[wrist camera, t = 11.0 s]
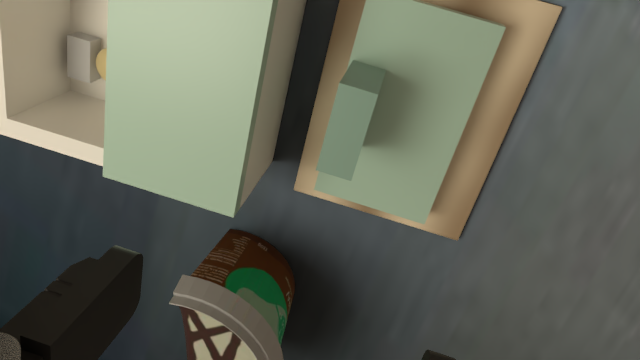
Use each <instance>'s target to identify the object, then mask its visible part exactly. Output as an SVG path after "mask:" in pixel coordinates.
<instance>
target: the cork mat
mask: <svg viewBox="0 0 640 360" xmlns="http://www.w3.org/2000/svg"><path fill="white" fill-rule="evenodd" d="M421 1H424V2H428V3H431V4H435V5H438V6H442V7H445V8H449V9H452V10H456V11H459V12H463V13H466V14H469V15H473V16H476V17H480V18H483V19H487V20H490V21H494V22H497V23H501V24H504V25H505V27H506V29H505V31H504V33H503V36H502V38H501V41H500V43H499V46H498V48H497V50H496V53H495V55H494V58H493V60H492V62H491V65H490V67H489V70H488V72H487V75H486V77H485V79H484V82H483V84H482V87H481V89H480V91H479V94H478V96H477V99H476V101H475V104H474V106H473V108H472V111H471V113H470V116H469V118H468V120H467V123H466V125H465V128H464V130H463V133H462V135H461V137H460V140H459V142H458V145H457V147H456V149H455V152H454V154H453V157H452V159H451V162H450V164H449V166H448V169H447V171H446V174H445V176H444V178H443V181H442V183H441V186H440V188H439V191H438V193H437V195H436V198H435V200H434V203H433V205H432V207H431V210H430V212H429V215H428V217H427V220H426V222H425V224H421V223H418V222H415V221H411V220H408V219H405V218H402V217H399V216H396V215H392V214H389V213H386V212H383V211H380V210H377V209H374V208H370V207H367V206H364V205H361V204H358V203H355V202H351V201H348V200H345V199H342V198H339V197H336V196H332V195H329V194H326V193H323V192H320V191H317V190H314V188H315V184H316V180H317V177H318V173H319V171H317V170H316V167H317V163H318V160H319V156H320V152H321V149H322V145H323V141H324V137H325V134H326V130H327V126H328V123H329V119H330V115H331V112H332V108H333V104H334V101H335V97H336V93H337V89H338V86H339V83H340V81H341V79H342V78H343V76H344V74H345V73H346V71H347V67H348V64H349V60H350V56H351V53H352V49H353V46H354V42H355V38H356V35H357V31H358V27H359V24H360V20H361V16H362V13H363V9H364V5H365V2H366V0H340V1H339V5H338V9H337V13H336V18H335V22H334V26H333V30H332V34H331V38H330V42H329V46H328V51H327V55H326V59H325V63H324V67H323V71H322V75H321V79H320V84H319V88H318V92H317V96H316V100H315V104H314V108H313V112H312V117H311V121H310V125H309V129H308V133H307V137H306V141H305V145H304V150H303V154H302V158H301V162H300V166H299V170H298V174H297V178H296V182H295V187H294V190H296V191H299V192H302V193H305V194H309V195H312V196H315V197H318V198H322V199H325V200H328V201H331V202H335V203H338V204H341V205H344V206H348V207H351V208H354V209H357V210H360V211H364V212H367V213H370V214H373V215H377V216H380V217H383V218H386V219H390V220H393V221H396V222H399V223H403V224H406V225H409V226H412V227H415V228H419V229H422V230H425V231H428V232H432V233H435V234H438V235H441V236H445V237H448V238H451V239H454V240H458V239H459V237H460V234H461V232H462V230H463V228H464V225H465V223H466V221H467V219H468V217H469V214H470V212H471V210H472V208H473V205H474V203H475V201H476V199H477V197H478V194H479V192H480V190H481V188H482V185H483V183H484V181H485V179H486V177H487V174H488V172H489V170H490V168H491V165H492V163H493V161H494V159H495V157H496V154H497V152H498V150H499V148H500V145H501V143H502V141H503V139H504V136H505V134H506V132H507V130H508V128H509V125H510V123H511V121H512V119H513V116H514V114H515V112H516V110H517V108H518V105H519V103H520V101H521V99H522V96H523V94H524V92H525V90H526V88H527V85H528V83H529V81H530V79H531V76H532V74H533V72H534V70H535V68H536V65H537V63H538V61H539V59H540V56H541V54H542V52H543V50H544V47H545V45H546V43H547V41H548V39H549V36H550V34H551V32H552V30H553V27H554V25H555V23H556V21H557V19H558V16H559V14H560V12H561V10H562V7H561V6H557V5H554V4H550V3H546V2H543V1H539V0H421Z"/></svg>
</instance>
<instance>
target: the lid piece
mask: <svg viewBox="0 0 640 360" xmlns="http://www.w3.org/2000/svg"><path fill="white" fill-rule="evenodd" d="M505 29H506V27H505V25H504V24H501V23H497V22H494V21H490V20H487V19H483V18H480V17H476V16H473V15H469V14H466V13H463V12H459V11H456V10H452V9H449V8H445V7H442V6H438V5H435V4H431V3H428V2H424V1H421V0H366V2H365V5H364V9H363V13H362V16H361V20H360V24H359V27H358V31H357V35H356V38H355V42H354V46H353V49H352V53H351V56H350V60H349V64H348V67H347V71H346V73H345V74H344V76H343V78H342V79H341V81H340V83H339V86H338V89H337V93H336V97H335V101H334V104H333V108H332V112H331V115H330V119H329V123H328V126H327V130H326V134H325V137H324V141H323V145H322V149H321V152H320V156H319V160H318V163H317V167H316V170H317V171H319V173H318V177H317V180H316V184H315V188H314V190H317V191H320V192H323V193H326V194H329V195H332V196H336V197H339V198H342V199H345V200H348V201H351V202H355V203H358V204H361V205H364V206H367V207H370V208H374V209H377V210H380V211H383V212H386V213H389V214H392V215H396V216H399V217H402V218H405V219H408V220H411V221H415V222H418V223H421V224H425V222H426V220H427V217H428V215H429V212H430V210H431V207H432V205H433V203H434V200H435V198H436V195H437V193H438V191H439V188H440V186H441V183H442V181H443V178H444V176H445V174H446V171H447V169H448V166H449V164H450V162H451V159H452V157H453V154H454V152H455V149H456V147H457V145H458V142H459V140H460V137H461V135H462V133H463V130H464V128H465V125H466V123H467V120H468V118H469V116H470V113H471V111H472V108H473V106H474V104H475V101H476V99H477V96H478V94H479V91H480V89H481V87H482V84H483V82H484V79H485V77H486V75H487V72H488V70H489V67H490V65H491V62H492V60H493V58H494V55H495V53H496V50H497V48H498V46H499V43H500V41H501V38H502V36H503V33H504V31H505Z"/></svg>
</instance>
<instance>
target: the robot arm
mask: <svg viewBox="0 0 640 360" xmlns="http://www.w3.org/2000/svg"><path fill="white" fill-rule="evenodd" d="M142 268H143V256H142V254H140V253H137V252H134V251H131V250H128V249H125V248H122V247H119V246H113V247H112V248H110V249H109V250H108V251H107V252H106V253H105V254H104V255H103V256H102V257H101V258H100V259H99V260H96V259H93V258H90V257H89V258H87V259H85V260H82V261H80V262H78V263H76V264H74V265H71V266H70V267H69V268H68V269H66V270H65V271H64V272H63V273H62V274H61V275H60V276H59V277H58V278H56V281H53V282H52V283H51V284H50V285H49V286H48V287H46V288H45V291H44V292H41V293H40V294H39V295H38V296H36V297H35V298H34V299H33V300H32V301H31V302H30V303H29V304H28V305H27V306H25V307H24V308H23V309H22V310H21V311H20V312H19V313H18V314H17V315H15V316H14V317H13V318H12V319H11V320H10V321H9V322H8V323H7V324H5V325H4V326H3V327H2V328H1V329H0V360H98V358H99V357H100V356H101V355H102V353H103V352H104V351H105V350H106V348H107V347H108V346H109V345H110V343H111V342H112V341H113V340H114V338H115V337H116V336H117V335H118V333H119V332H120V331H121V330H122V328H123V327H124V326H125V325H126V323H127V322H128V321H129V320H130V318H131V317H132V315H133V314H134V312H135V310H136V308H137V305H138V303H139V299H140V292H141V280H142ZM422 360H456V359H455V358H452V357H449V356H446V355H443V354H440V353H437V352H434V351H431V350H426V352H425V353H424V355H423V357H422Z"/></svg>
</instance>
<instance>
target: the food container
mask: <svg viewBox="0 0 640 360" xmlns="http://www.w3.org/2000/svg"><path fill="white" fill-rule="evenodd" d="M294 292H295V281H294V276H293V273H292V270H291V268H290V266H289V264H288V262H287V261H286V259H285V258H284V257H283V255H282V254H281V253H280V252H279V251H278V250H277V249H276V248H275V247H273V246H272V245H271V244H269V243H268V242H267V241H265V240H263V239H261V238H260V237H258V236H255V235H253V234H251V233H248V232H244V231H241V230H234V229H229V231H228V232H227V233H226V234H225V235H224V237H223V238H222V239H221V240H220V241H219V243H218V244H217V245H216V246H215V247H214V249H213V250H212V251H211V252H210V253H209V254H208V256H207V257H206V258H205V259H204V260H203V262H202V263H201V264H200V265H199V266H198V268H197V269H196V270H195V271H194V272H193V274H192V275H191V276H186V275H182V277H181V279H180V281H179V283H178V285H177V286H176V288H175V290H174V292H173V294H174V296H173V298H172V299H171V301H170V302H169V304H172V305H177V306H179V307H180V310H181V313H182V317H183V323H184V330H185V338H186V349H187V360H283V354H282V349H281V347H280V346H281V342H282V338H283V334H284V331H285V327H286V323H287V319H288V315H289V311H290V308H291V304H292V300H293V296H294Z"/></svg>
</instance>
